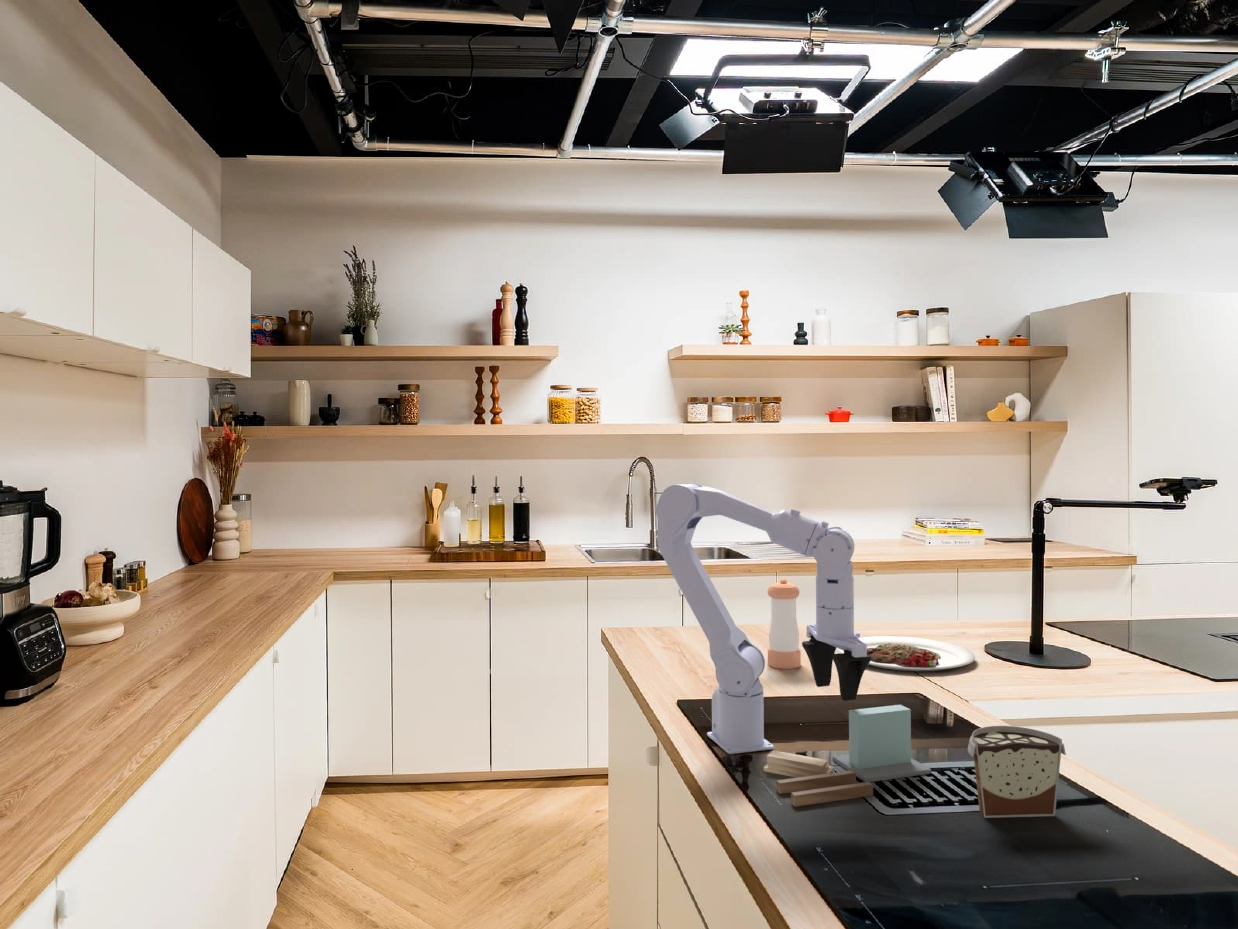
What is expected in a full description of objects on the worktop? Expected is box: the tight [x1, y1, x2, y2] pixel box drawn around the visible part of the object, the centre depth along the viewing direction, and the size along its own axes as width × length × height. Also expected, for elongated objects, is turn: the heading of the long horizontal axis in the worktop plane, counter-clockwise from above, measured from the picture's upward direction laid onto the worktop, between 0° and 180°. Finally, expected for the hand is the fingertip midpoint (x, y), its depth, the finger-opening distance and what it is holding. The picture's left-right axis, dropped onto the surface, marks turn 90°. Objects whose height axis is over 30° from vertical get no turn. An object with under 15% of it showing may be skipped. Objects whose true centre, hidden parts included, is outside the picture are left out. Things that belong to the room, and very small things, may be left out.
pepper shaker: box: [767, 578, 802, 670], centre depth 182 cm, size 7×7×19 cm
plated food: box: [836, 635, 976, 672], centre depth 187 cm, size 30×30×3 cm
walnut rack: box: [776, 770, 874, 807], centre depth 113 cm, size 5×12×2 cm, turn 106°
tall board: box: [848, 704, 912, 769], centre depth 122 cm, size 2×9×8 cm, turn 106°
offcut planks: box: [763, 749, 835, 778], centre depth 120 cm, size 3×10×3 cm, turn 60°
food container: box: [967, 725, 1067, 819], centre depth 108 cm, size 12×6×10 cm, turn 92°
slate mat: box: [832, 753, 932, 783], centre depth 122 cm, size 9×11×1 cm
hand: (835, 692), depth 127 cm, fingers open, 7 cm apart
